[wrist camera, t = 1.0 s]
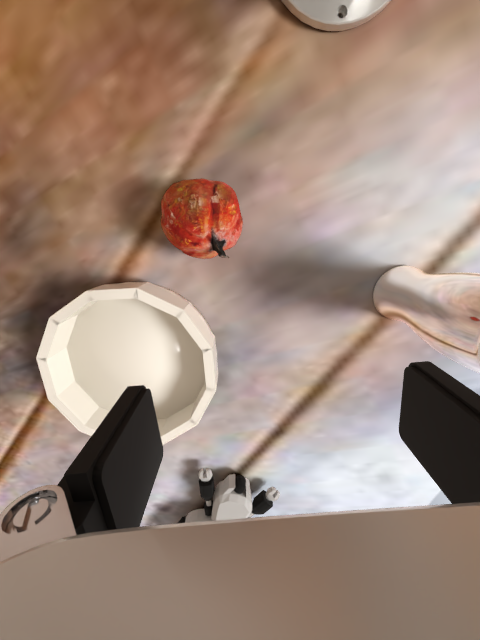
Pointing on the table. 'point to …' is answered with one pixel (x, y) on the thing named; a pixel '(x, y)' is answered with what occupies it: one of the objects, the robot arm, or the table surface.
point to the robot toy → (229, 499)
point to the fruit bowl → (129, 356)
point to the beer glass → (435, 309)
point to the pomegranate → (201, 217)
